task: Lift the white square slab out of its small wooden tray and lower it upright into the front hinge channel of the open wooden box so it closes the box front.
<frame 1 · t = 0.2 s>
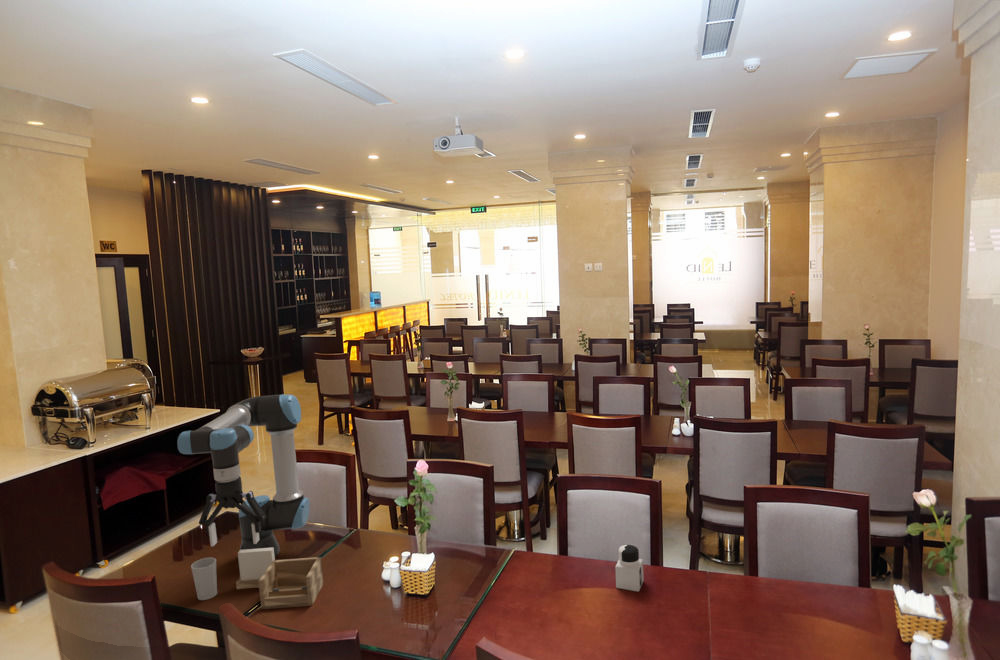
hand: (235, 543, 186), 28 cm above the table, fingers open, 13 cm apart
container: (629, 584, 199), on the table
cup: (207, 595, 209), on the table
wooden box: (293, 595, 204), on the table
white square slab: (259, 584, 214), resting in small wooden tray
small wooden tray: (259, 583, 214), on the table
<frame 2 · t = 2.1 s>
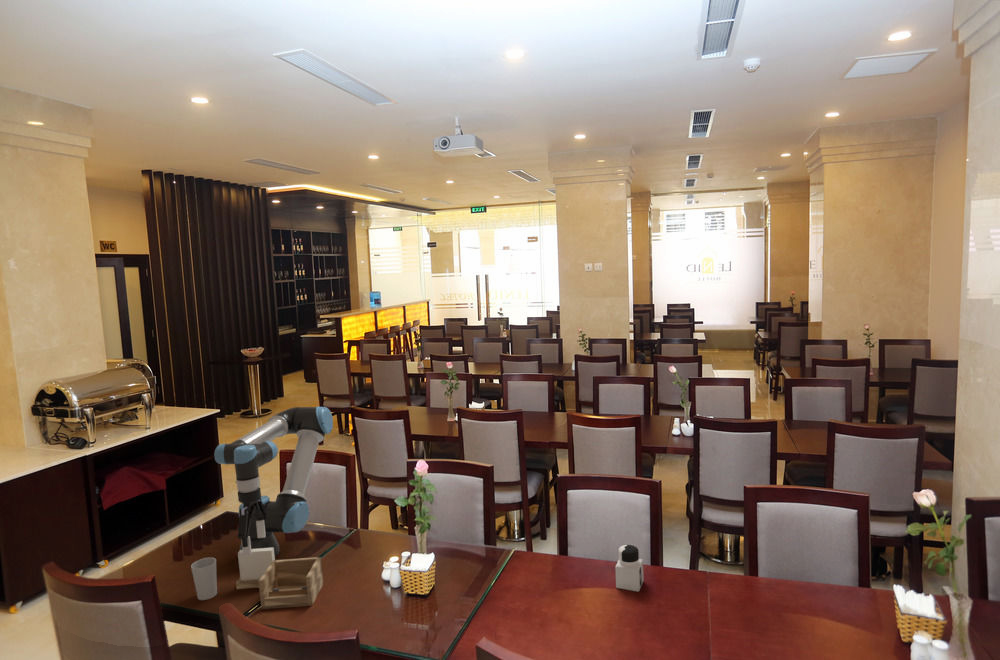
hand: (254, 545, 212), 15 cm above the table, fingers open, 13 cm apart
nothing on the table moved.
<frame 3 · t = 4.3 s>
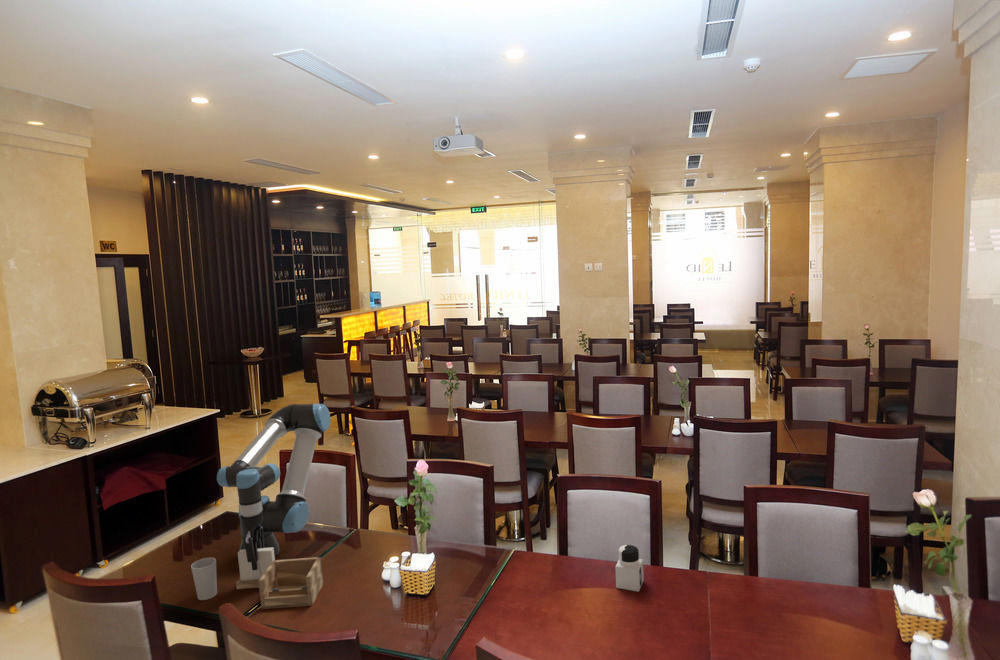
hand: (258, 574, 214), 4 cm above the table, fingers closed on white square slab, 2 cm apart
white square slab: (259, 584, 214), resting in small wooden tray, touching gripper
everything else where it was.
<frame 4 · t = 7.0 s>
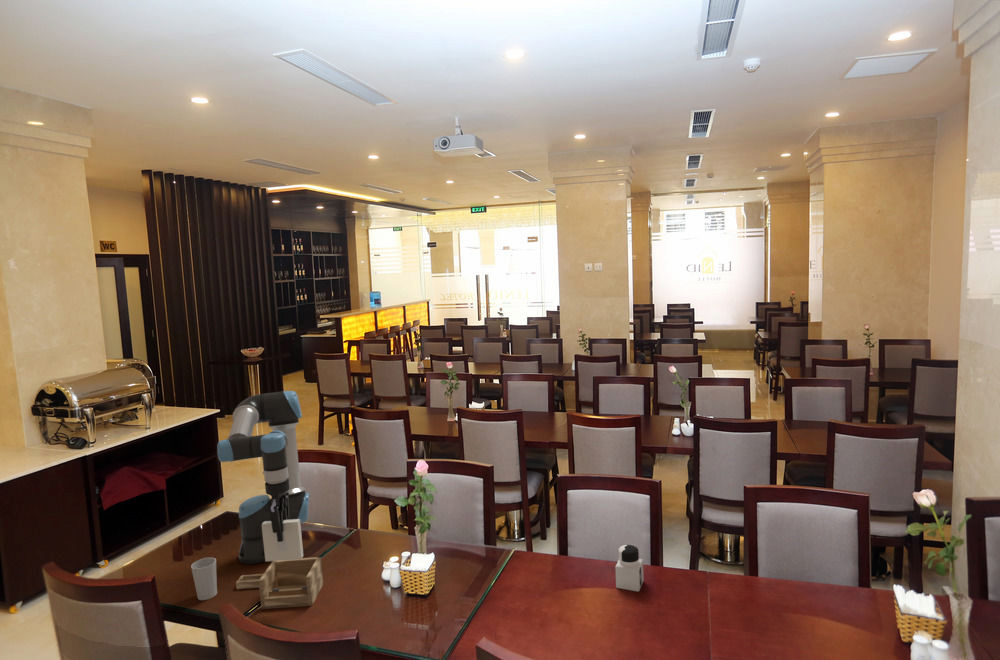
hand: (283, 547, 198), 20 cm above the table, fingers closed on white square slab, 2 cm apart
white square slab: (284, 558, 199), point 16 cm above the table, touching gripper
everything else where it was.
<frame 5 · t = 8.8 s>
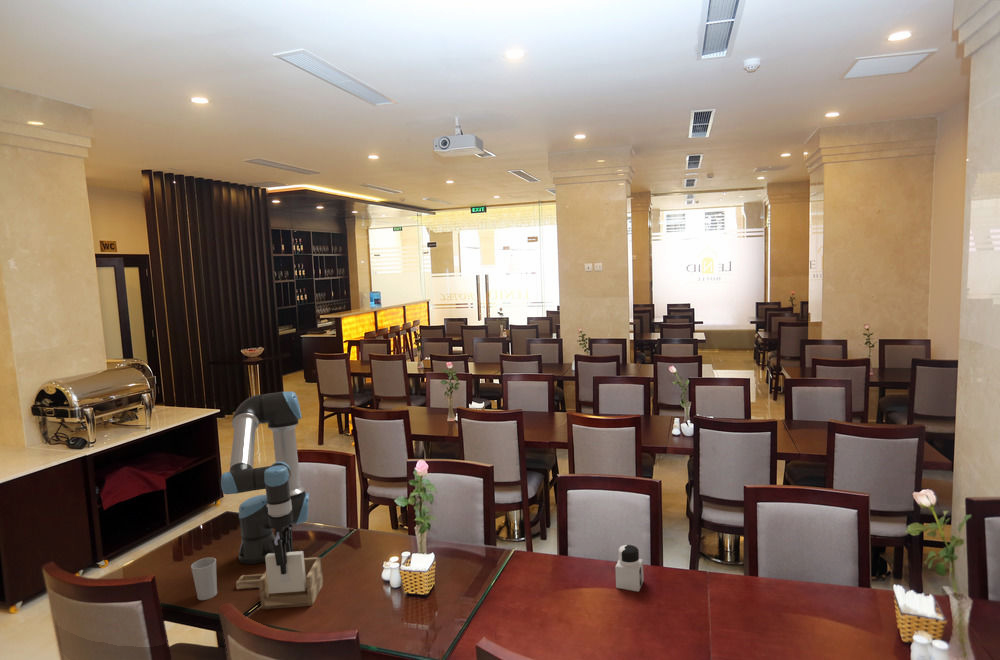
hand: (287, 579, 199), 8 cm above the table, fingers closed on white square slab, 2 cm apart
white square slab: (287, 590, 200), point 4 cm above the table, touching gripper
everything else where it was.
when the fingers open (6 cm above the table, at t = 10.0 s): white square slab stays where it is, resting on wooden box.
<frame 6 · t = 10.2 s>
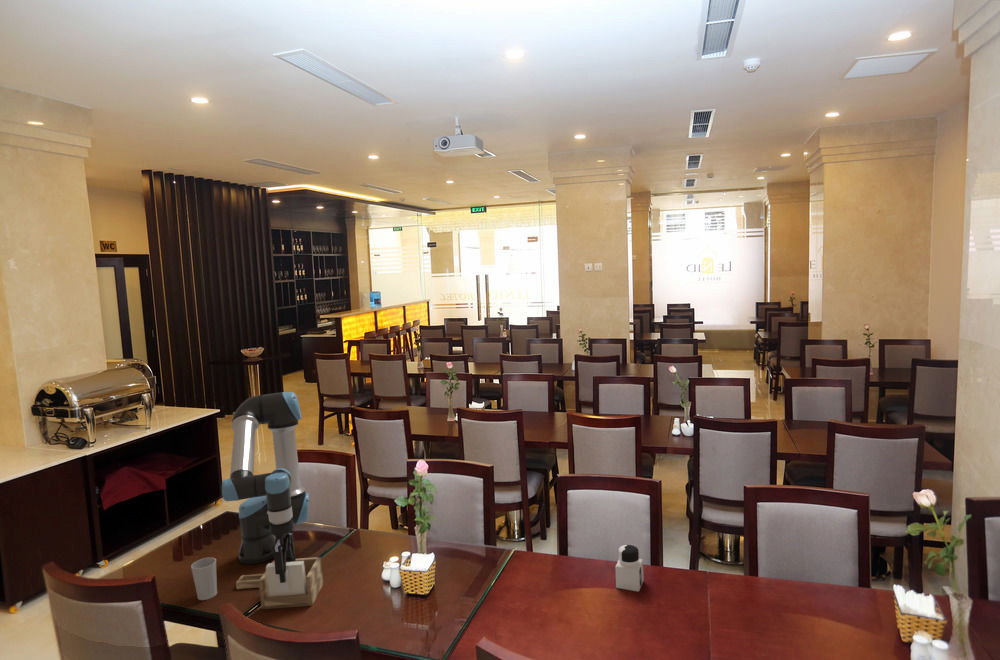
hand: (287, 585, 200), 6 cm above the table, fingers open, 5 cm apart
white square slab: (289, 599, 200), point 1 cm above the table, touching wooden box
everything else where it was.
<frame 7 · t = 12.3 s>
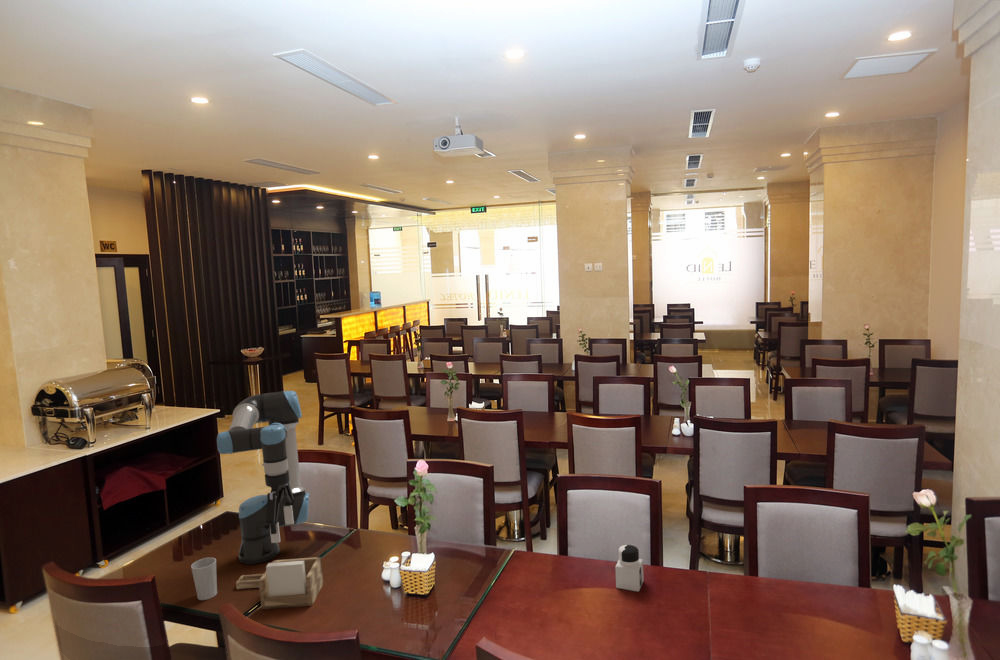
hand: (283, 532, 198), 25 cm above the table, fingers open, 13 cm apart
nothing on the table moved.
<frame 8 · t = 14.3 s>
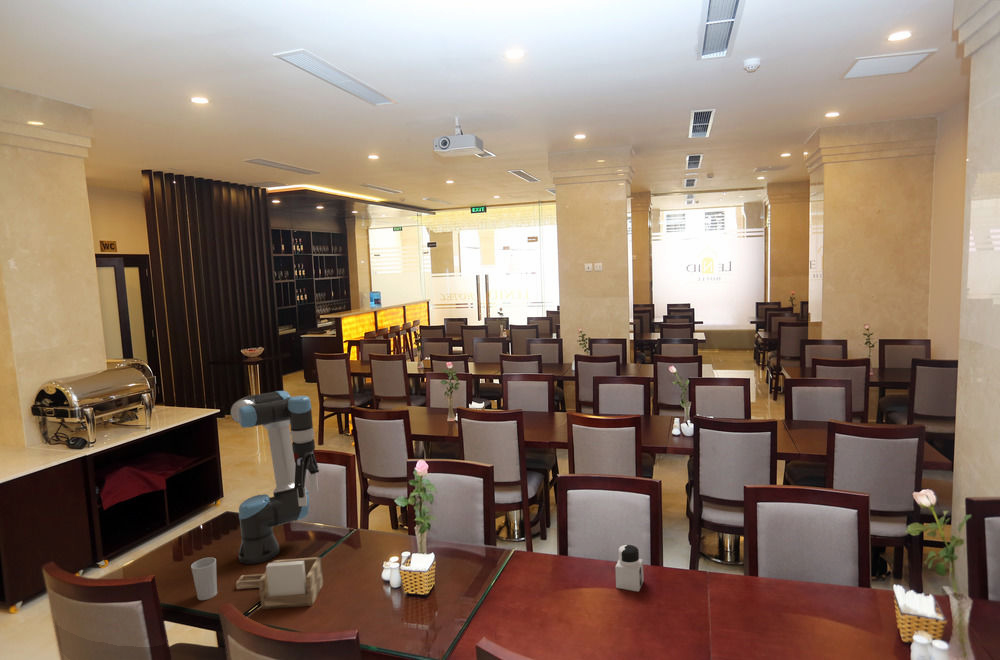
hand: (308, 498, 209), 32 cm above the table, fingers open, 13 cm apart
nothing on the table moved.
at the end: white square slab 0.2 cm from the target spot on the wooden box, point 1.0 cm above the wooden box's base; white square slab tilted 0°; the gripper is holding nothing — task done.
